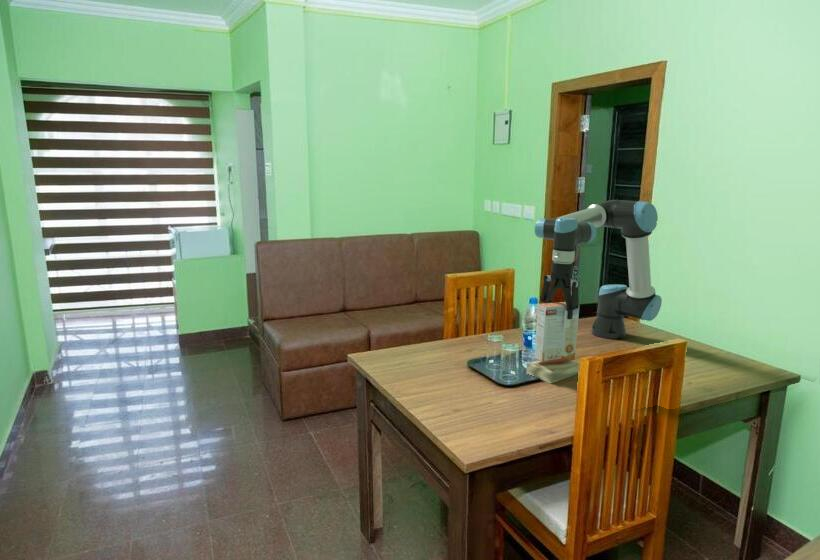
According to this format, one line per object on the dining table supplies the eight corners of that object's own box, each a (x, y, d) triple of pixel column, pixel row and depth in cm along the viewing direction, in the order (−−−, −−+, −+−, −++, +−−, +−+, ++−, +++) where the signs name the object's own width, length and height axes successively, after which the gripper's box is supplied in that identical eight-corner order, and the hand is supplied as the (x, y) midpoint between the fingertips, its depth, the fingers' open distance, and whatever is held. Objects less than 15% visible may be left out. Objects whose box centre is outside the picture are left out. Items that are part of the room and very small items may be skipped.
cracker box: (565, 354, 204) (570, 300, 199) (575, 360, 198) (581, 304, 194) (532, 358, 199) (537, 302, 195) (541, 363, 194) (546, 306, 189)
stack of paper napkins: (526, 373, 199) (526, 362, 198) (555, 364, 209) (556, 354, 208) (550, 383, 190) (551, 371, 189) (579, 373, 201) (580, 362, 200)
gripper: (533, 258, 197) (528, 319, 201) (581, 267, 181) (574, 333, 186) (546, 257, 201) (541, 316, 206) (594, 265, 186) (587, 330, 190)
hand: (557, 324), depth 196 cm, fingers closed on cracker box, 7 cm apart
